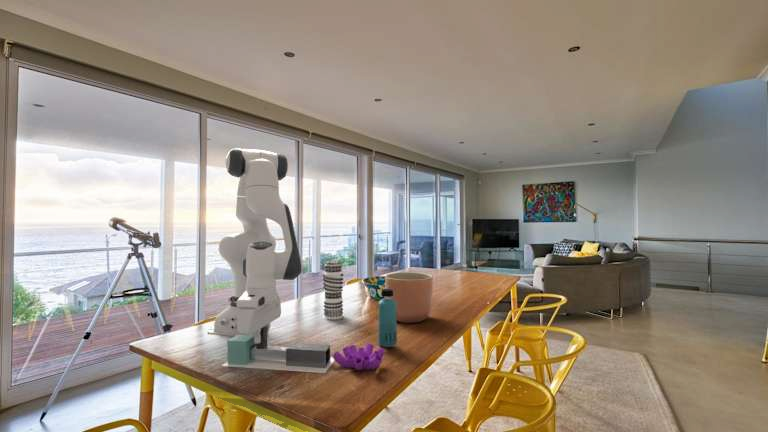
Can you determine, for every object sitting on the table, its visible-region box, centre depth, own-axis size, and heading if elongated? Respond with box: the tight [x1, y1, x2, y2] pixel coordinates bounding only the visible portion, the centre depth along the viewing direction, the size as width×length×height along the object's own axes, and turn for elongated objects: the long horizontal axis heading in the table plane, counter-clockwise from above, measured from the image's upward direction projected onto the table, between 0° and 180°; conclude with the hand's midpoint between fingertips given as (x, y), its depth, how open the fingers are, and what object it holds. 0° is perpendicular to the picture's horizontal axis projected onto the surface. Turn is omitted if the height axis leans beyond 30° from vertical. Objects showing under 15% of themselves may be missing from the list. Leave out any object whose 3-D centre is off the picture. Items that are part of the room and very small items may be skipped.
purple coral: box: [332, 342, 386, 371], centre depth 106 cm, size 11×15×10 cm
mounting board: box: [221, 356, 335, 374], centre depth 109 cm, size 32×11×1 cm, turn 80°
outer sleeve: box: [286, 342, 331, 368], centre depth 108 cm, size 12×5×5 cm, turn 80°
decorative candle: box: [322, 260, 345, 320], centre depth 161 cm, size 9×9×25 cm
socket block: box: [226, 334, 256, 365], centre depth 111 cm, size 6×8×7 cm
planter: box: [384, 271, 434, 324], centre depth 157 cm, size 21×21×19 cm
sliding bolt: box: [250, 327, 288, 361], centre depth 109 cm, size 20×3×9 cm, turn 80°
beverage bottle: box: [377, 288, 398, 347], centre depth 123 cm, size 6×7×20 cm
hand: (261, 340), depth 110 cm, fingers closed on sliding bolt, 2 cm apart
